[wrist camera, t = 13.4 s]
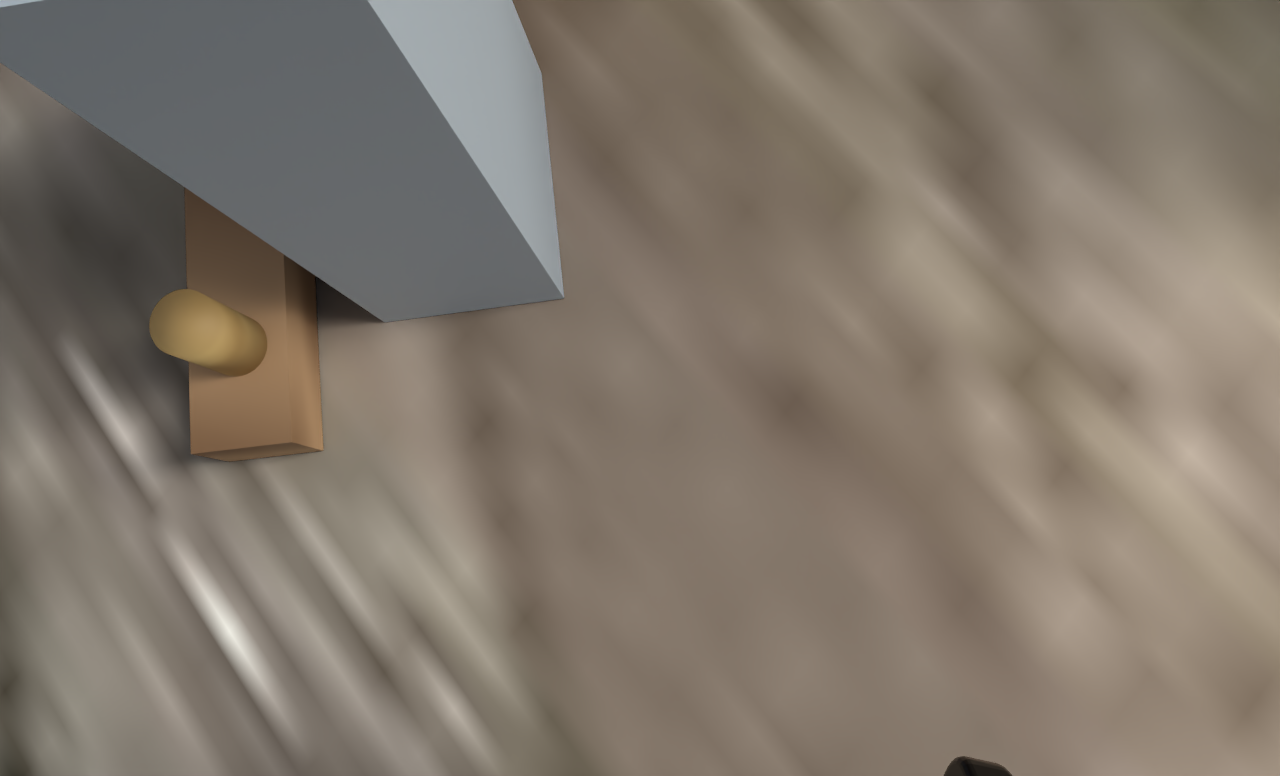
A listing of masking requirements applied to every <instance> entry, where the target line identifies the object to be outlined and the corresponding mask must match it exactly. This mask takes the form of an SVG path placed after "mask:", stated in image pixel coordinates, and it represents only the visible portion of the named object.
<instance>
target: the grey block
mask: <svg viewBox="0 0 1280 776" xmlns="http://www.w3.org/2000/svg"><path fill="white" fill-rule="evenodd" d="M0 63H2V64H3V65H5V66H6V67H8V68H9V69H11V70H12V71H14V72H15V73H17V74H18V75H20V76H21V77H23V78H24V79H25V80H27V81H28V82H30V83H31V84H33V85H34V86H36V87H37V88H39V89H40V90H42V91H43V92H45V93H46V94H48V95H49V96H51V97H52V98H54V99H55V100H57V101H58V102H59V103H61V104H62V105H64V106H65V107H67V108H68V109H70V110H71V111H73V112H74V113H76V114H77V115H79V116H80V117H82V118H83V119H85V120H86V121H88V122H89V123H91V124H92V125H93V126H95V127H96V128H98V129H99V130H101V131H102V132H104V133H105V134H107V135H108V136H110V137H111V138H113V139H114V140H116V141H117V142H119V143H120V144H122V145H123V146H125V147H126V148H127V149H129V150H130V151H132V152H133V153H135V154H136V155H138V156H139V157H141V158H142V159H144V160H145V161H147V162H148V163H150V164H151V165H153V166H154V167H156V168H157V169H159V170H160V171H161V172H163V173H164V174H166V175H167V176H169V177H170V178H172V179H173V180H175V181H176V182H178V183H179V184H181V185H182V186H184V187H185V188H187V189H188V190H190V191H191V192H192V193H194V194H195V195H197V196H198V197H200V198H201V199H203V200H204V201H206V202H207V203H209V204H210V205H212V206H213V207H215V208H216V209H218V210H219V211H221V212H222V213H224V214H225V215H226V216H228V217H229V218H231V219H232V220H234V221H235V222H237V223H238V224H240V225H241V226H243V227H244V228H246V229H247V230H249V231H250V232H252V233H253V234H255V235H256V236H258V237H259V238H260V239H262V240H263V241H265V242H266V243H268V244H269V245H271V246H272V247H274V248H275V249H277V250H278V251H280V252H281V253H283V254H284V255H286V256H287V257H289V258H290V259H292V260H293V261H294V262H296V263H297V264H299V265H300V266H302V267H303V268H305V269H306V270H308V271H309V272H311V273H312V274H314V275H315V276H317V277H318V278H320V279H321V280H323V281H324V282H326V283H327V284H328V285H330V286H331V287H333V288H334V289H336V290H337V291H339V292H340V293H342V294H343V295H345V296H346V297H348V298H349V299H351V300H352V301H354V302H355V303H357V304H358V305H360V306H361V307H362V308H364V309H365V310H367V311H368V312H370V313H371V314H373V315H374V316H376V317H377V318H379V319H380V320H382V321H383V322H392V321H399V320H407V319H414V318H422V317H429V316H437V315H444V314H452V313H459V312H466V311H474V310H481V309H489V308H496V307H504V306H511V305H519V304H526V303H534V302H541V301H548V300H556V299H563V298H564V291H563V281H562V271H561V261H560V251H559V241H558V231H557V221H556V211H555V202H554V192H553V182H552V172H551V162H550V152H549V142H548V132H547V122H546V112H545V103H544V93H543V83H542V74H541V71H540V69H539V66H538V64H537V61H536V59H535V56H534V54H533V51H532V49H531V46H530V44H529V41H528V39H527V36H526V34H525V31H524V29H523V26H522V24H521V21H520V19H519V16H518V14H517V11H516V9H515V6H514V4H513V1H512V0H0Z"/></svg>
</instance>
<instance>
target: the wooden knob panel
mask: <svg viewBox="0 0 1280 776" xmlns="http://www.w3.org/2000/svg"><path fill="white" fill-rule="evenodd" d="M184 194H185V235H186V276H187V289H180V290H176V291H173V292H171V293H169V294H167V295H166V296H164V297H163V298H162V299H161V300H160V301H159V302H158V303H157V304H156V306H155V307H154V309H153V311H152V314H151V317H150V322H149V329H150V335H151V338H152V340H153V342H154V343H155V345H156V346H157V347H158V348H159V349H160V350H161V351H163V352H165V353H167V354H169V355H172V356H175V357H178V358H180V359H183V360H186V361H189V400H190V441H191V454H193V455H198V456H203V457H208V458H213V459H219V460H224V461H229V462H231V461H239V460H248V459H256V458H265V457H273V456H282V455H290V454H299V453H307V452H316V451H323V432H322V411H321V390H320V369H319V348H318V328H317V307H316V286H315V275H314V274H312V273H311V272H309V271H308V270H306V269H305V268H303V267H302V266H300V265H299V264H297V263H296V262H294V261H293V260H292V259H290V258H289V257H287V256H286V255H284V254H283V253H281V252H280V251H278V250H277V249H275V248H274V247H272V246H271V245H269V244H268V243H266V242H265V241H263V240H262V239H260V238H259V237H258V236H256V235H255V234H253V233H252V232H250V231H249V230H247V229H246V228H244V227H243V226H241V225H240V224H238V223H237V222H235V221H234V220H232V219H231V218H229V217H228V216H226V215H225V214H224V213H222V212H221V211H219V210H218V209H216V208H215V207H213V206H212V205H210V204H209V203H207V202H206V201H204V200H203V199H201V198H200V197H198V196H197V195H195V194H194V193H192V192H191V191H190V190H188V189H187V188H185V187H184Z"/></svg>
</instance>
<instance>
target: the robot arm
mask: <svg viewBox="0 0 1280 776" xmlns="http://www.w3.org/2000/svg"><path fill="white" fill-rule="evenodd" d="M944 776H1012V774H1011V773H1010V772H1009V771H1008V770H1007V769H1006V768H1004V767H1003V766H1002V765H999V764H997V763H993V762H989V761H984V760H979V759H975V758H970V757H965V756H962V757H957V758H955V759H954V760H953V761H952V762H951V763H950V765H949V766H948V768H947V770H946V772H945V774H944Z"/></svg>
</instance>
